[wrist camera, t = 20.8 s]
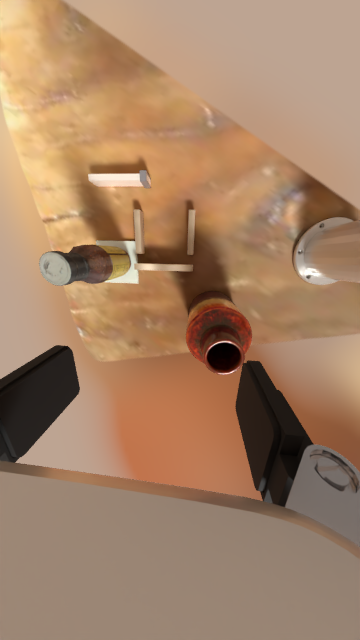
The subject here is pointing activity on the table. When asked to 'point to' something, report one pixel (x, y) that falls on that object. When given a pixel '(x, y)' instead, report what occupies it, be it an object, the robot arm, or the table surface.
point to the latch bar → (121, 179)
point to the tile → (131, 250)
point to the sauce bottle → (84, 264)
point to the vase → (217, 332)
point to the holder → (141, 247)
